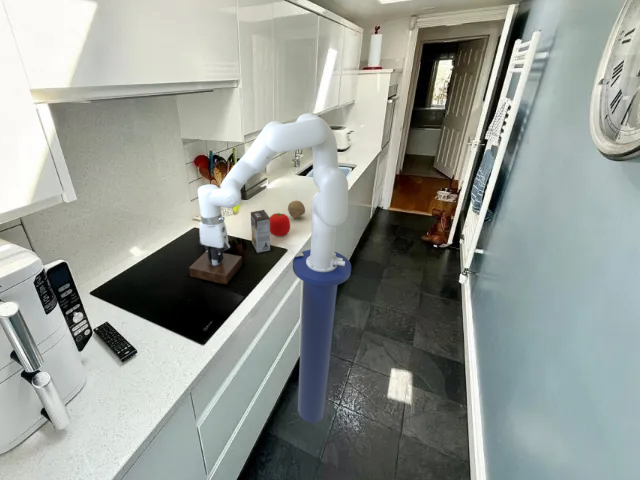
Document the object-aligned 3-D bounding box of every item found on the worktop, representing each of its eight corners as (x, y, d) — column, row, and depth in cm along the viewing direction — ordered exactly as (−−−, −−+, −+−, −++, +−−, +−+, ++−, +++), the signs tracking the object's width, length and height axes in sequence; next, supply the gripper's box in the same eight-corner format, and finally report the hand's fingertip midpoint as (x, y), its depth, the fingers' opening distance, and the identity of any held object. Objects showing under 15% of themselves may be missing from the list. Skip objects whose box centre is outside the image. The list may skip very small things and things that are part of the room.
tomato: (289, 240, 143) (289, 219, 138) (266, 238, 145) (266, 218, 140) (291, 230, 152) (291, 210, 148) (270, 228, 154) (269, 209, 150)
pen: (222, 266, 123) (220, 246, 119) (218, 270, 121) (216, 250, 117) (215, 264, 125) (212, 245, 121) (211, 269, 122) (208, 249, 118)
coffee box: (251, 243, 142) (250, 211, 135) (264, 240, 143) (263, 209, 136) (257, 253, 134) (256, 220, 127) (271, 250, 136) (270, 217, 128)
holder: (242, 264, 126) (241, 256, 124) (226, 284, 115) (225, 275, 113) (208, 257, 132) (207, 249, 130) (190, 276, 120) (189, 267, 119)
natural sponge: (297, 213, 170) (298, 196, 165) (308, 219, 163) (309, 201, 159) (284, 217, 165) (284, 200, 161) (295, 223, 159) (295, 205, 154)
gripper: (235, 217, 113) (238, 259, 121) (197, 211, 119) (202, 252, 127) (226, 225, 107) (230, 269, 115) (186, 219, 113) (192, 261, 121)
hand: (215, 259), depth 121 cm, fingers closed on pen, 3 cm apart
